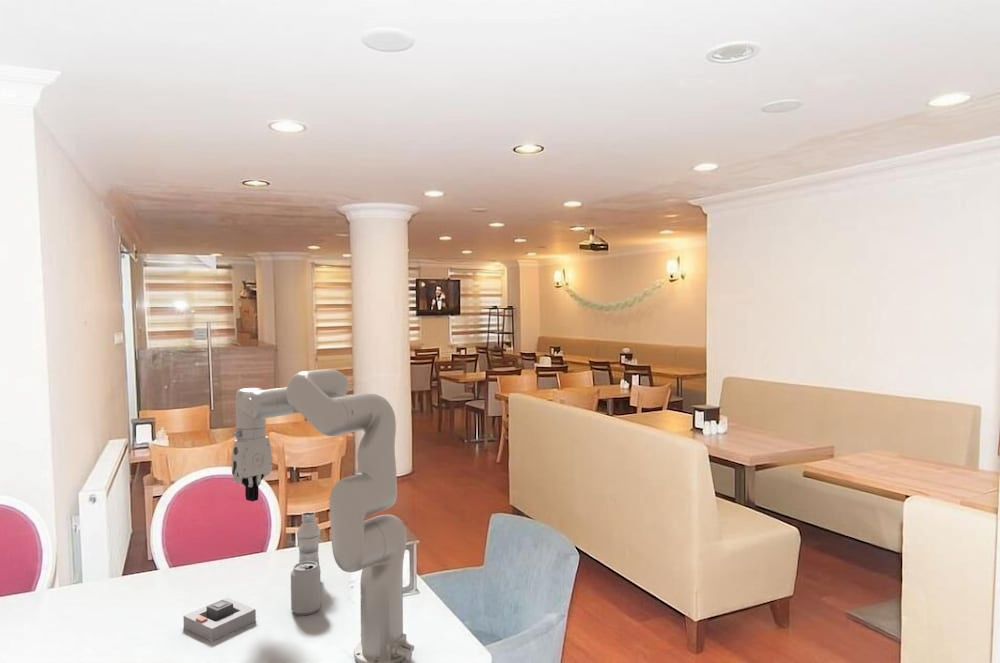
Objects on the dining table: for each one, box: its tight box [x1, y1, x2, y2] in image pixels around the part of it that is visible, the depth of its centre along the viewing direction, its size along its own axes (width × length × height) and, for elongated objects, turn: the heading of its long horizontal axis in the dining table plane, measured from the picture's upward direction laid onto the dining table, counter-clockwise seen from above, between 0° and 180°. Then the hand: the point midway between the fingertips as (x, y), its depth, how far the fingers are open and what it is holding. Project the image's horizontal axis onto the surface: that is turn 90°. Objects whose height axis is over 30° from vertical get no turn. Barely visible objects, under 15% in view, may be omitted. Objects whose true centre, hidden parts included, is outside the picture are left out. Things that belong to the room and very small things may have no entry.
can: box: [290, 561, 322, 616], centre depth 168 cm, size 8×8×12 cm
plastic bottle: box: [296, 511, 322, 574], centre depth 185 cm, size 6×7×20 cm
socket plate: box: [183, 597, 257, 642], centre depth 161 cm, size 12×12×4 cm
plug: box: [206, 599, 233, 622], centre depth 160 cm, size 4×4×5 cm
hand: (252, 499), depth 175 cm, fingers closed
